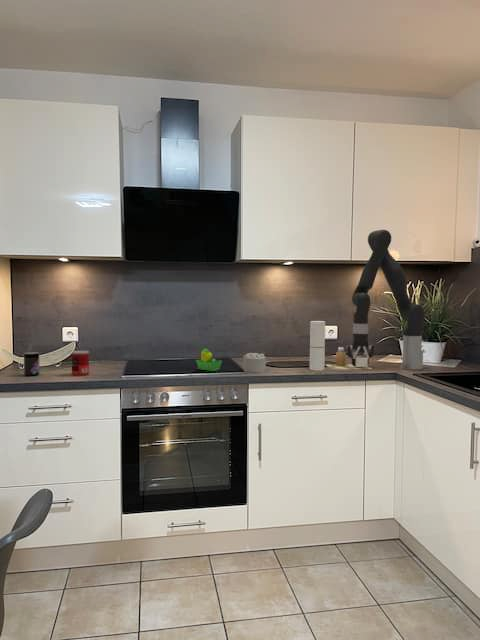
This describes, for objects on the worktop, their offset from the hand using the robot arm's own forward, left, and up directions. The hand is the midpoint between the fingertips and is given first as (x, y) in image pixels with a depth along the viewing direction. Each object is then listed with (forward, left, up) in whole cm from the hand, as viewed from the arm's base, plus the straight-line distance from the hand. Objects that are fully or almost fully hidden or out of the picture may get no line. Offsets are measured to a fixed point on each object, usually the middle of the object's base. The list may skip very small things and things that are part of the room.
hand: (360, 365), depth 244 cm
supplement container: (+158, +4, -3) cm, 158 cm away
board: (+5, -3, -2) cm, 6 cm away
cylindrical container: (+23, +4, -3) cm, 24 cm away
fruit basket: (+76, -4, -3) cm, 76 cm away
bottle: (+8, -6, -1) cm, 10 cm away
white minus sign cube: (0, 0, 0) cm, 0 cm away
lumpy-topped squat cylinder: (+53, -2, -3) cm, 53 cm away
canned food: (+136, +4, -3) cm, 136 cm away
